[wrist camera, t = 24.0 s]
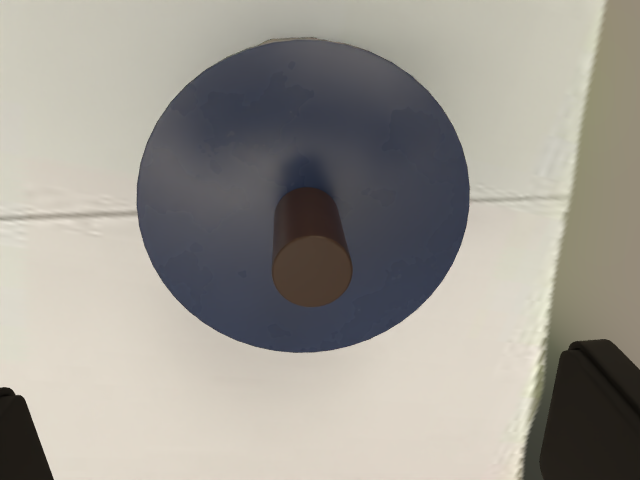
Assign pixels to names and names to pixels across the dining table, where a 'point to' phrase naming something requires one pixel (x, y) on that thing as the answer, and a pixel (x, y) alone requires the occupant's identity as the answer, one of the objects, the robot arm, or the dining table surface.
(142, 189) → the tin lid
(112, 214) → the dining table surface
